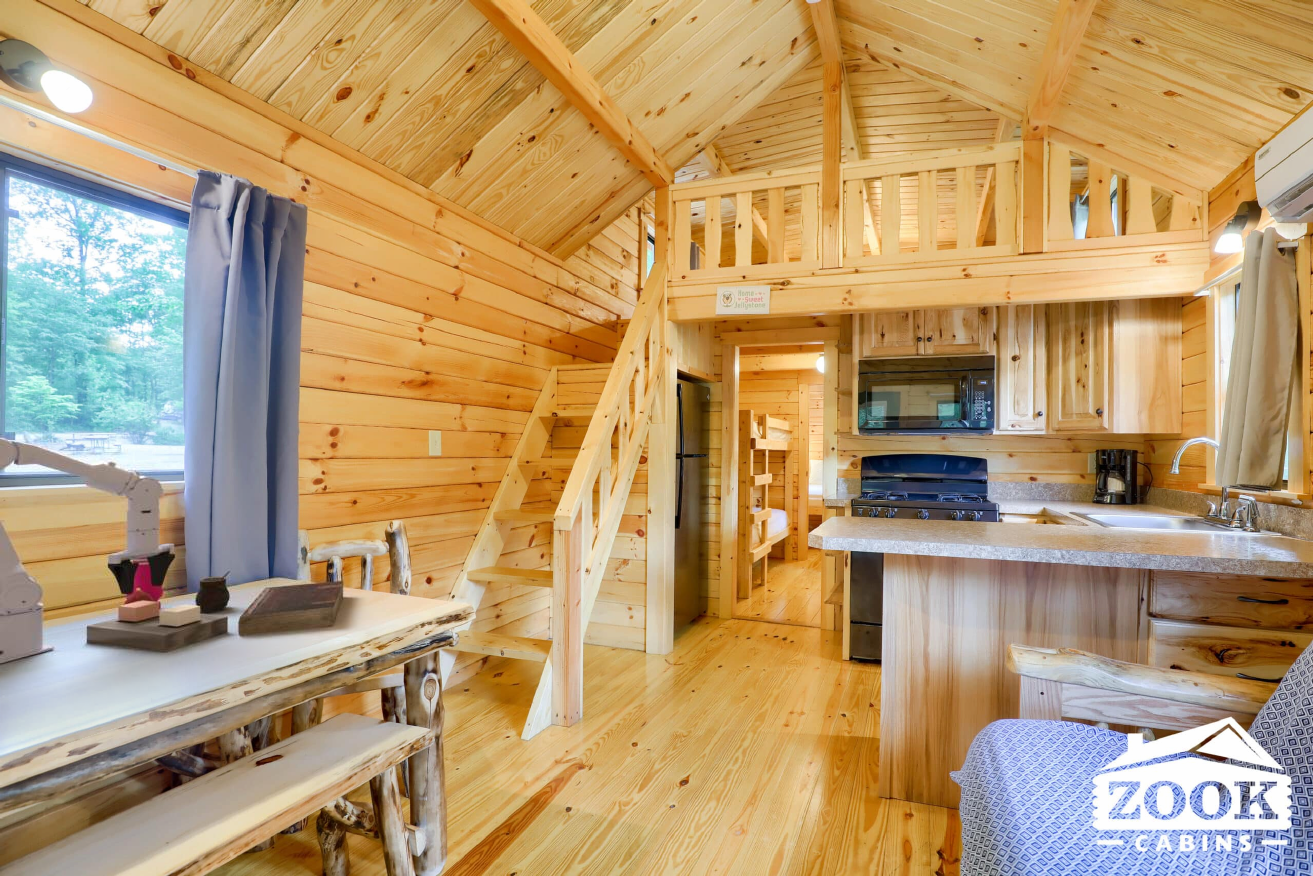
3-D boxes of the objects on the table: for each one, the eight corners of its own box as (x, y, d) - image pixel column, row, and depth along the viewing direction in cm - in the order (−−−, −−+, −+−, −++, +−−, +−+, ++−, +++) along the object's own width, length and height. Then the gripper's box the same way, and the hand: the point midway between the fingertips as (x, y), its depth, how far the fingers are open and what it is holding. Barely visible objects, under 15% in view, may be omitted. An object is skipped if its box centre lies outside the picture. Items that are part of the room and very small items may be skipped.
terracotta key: (135, 621, 136) (135, 607, 136) (118, 619, 138) (118, 606, 138) (158, 615, 141) (159, 602, 141) (142, 613, 142) (142, 600, 142)
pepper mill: (142, 616, 153) (142, 534, 153) (118, 614, 155) (118, 533, 155) (170, 608, 160) (170, 530, 161) (147, 607, 162) (147, 529, 162)
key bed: (164, 652, 128) (164, 635, 128) (86, 642, 134) (86, 626, 134) (227, 632, 142) (227, 616, 142) (154, 623, 147) (154, 609, 147)
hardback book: (264, 605, 166) (264, 586, 166) (343, 598, 173) (343, 580, 173) (238, 637, 139) (238, 615, 139) (332, 628, 146) (333, 607, 146)
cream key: (177, 626, 133) (177, 612, 133) (159, 624, 134) (159, 610, 134) (200, 619, 138) (200, 606, 138) (182, 618, 139) (182, 604, 139)
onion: (160, 619, 151) (160, 585, 151) (138, 626, 146) (139, 591, 146) (138, 618, 152) (138, 585, 152) (116, 625, 146) (116, 591, 146)
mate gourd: (202, 607, 162) (203, 568, 162) (235, 605, 164) (236, 567, 164) (189, 614, 155) (190, 574, 155) (224, 613, 157) (225, 573, 157)
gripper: (130, 534, 134) (129, 598, 134) (186, 525, 148) (185, 582, 148) (99, 534, 135) (98, 597, 135) (158, 525, 149) (158, 582, 149)
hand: (142, 589), depth 142 cm, fingers open, 7 cm apart
